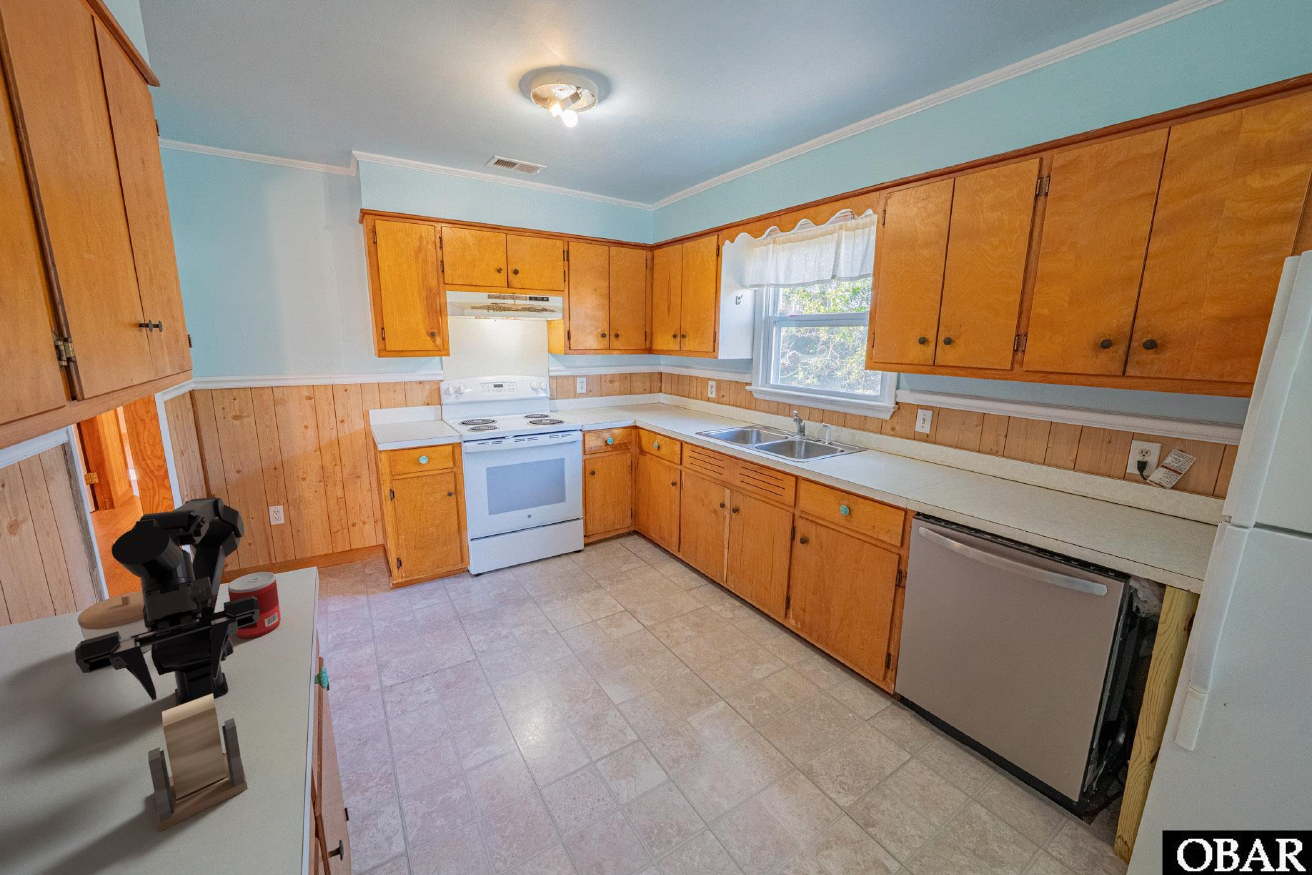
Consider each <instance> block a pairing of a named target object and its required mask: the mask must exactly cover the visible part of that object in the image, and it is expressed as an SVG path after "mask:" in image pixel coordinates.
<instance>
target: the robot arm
mask: <svg viewBox="0 0 1312 875" xmlns="http://www.w3.org/2000/svg"><path fill="white" fill-rule="evenodd" d="M244 536H245V524H244V521H243V518H242V517H241V514H240V512H239V511H238V510H236V509H234V508H233V507H230V506H229V505H226V504H225V503H224V501H223V498H222V497H217V496H212V497H202V498H192V499H190V500H186V501H185V502H184V504H182V505H180V506H179V507H177V508H175V509H173V510H172V511H170V510H169V511H161V512H153V513H152V512H151V513H144V514H143V515H142V516H141V517H140V518H139V520H137V521H135V524H134V525H133V527H132V528H131V529H130V530H128V531H126V532H124V533H123V534H121V535H120V536H119V537H118V538H116V541H115V542H114V543H113V544H112V547H111V555H112V557H113V559H115V561H117V562H118V564H120V565H122V567H124V568H125V570H127V571H129V572H130V573H131V574H132V575H133V576H134V577H135V576H136V577H137V578H140V579H139V580H140V585H141V586H140V588H141V590H142V594H143V602H144V608H143V616H144V623H145V627H146V628H147V631H148V632H145V633H141V634H137V635H134V636H130V637H126V638H123V639H122V638H121V636H120V634H119V632H118V631H117V632H113V633H110V634H106V635H102V636H99V637H95V638H91V639H87V640H85V639H84V640H80V642H79V643H78V644H77V645H76V646H75V649H74V654H75V655H74V658H75V663H76V665H77V666H78V667H79V669H80V670H81V672H82V673H83V674H87V673H88V674H90V673H93V672H96V671H99V670H103V669H107V668H110V667H113V670H115V671H118V670H122V669H126V670H127V671H128V672H129V673H131V675H132V676H134V677H135V678H136V679H137V681H138V682H139V683H140V684H141V686H142V688H143V689H144V690H145V692H146V693H147V694H148V697H149V698H150V699H151V700H152V702H153V701H157V700H158V699H157V689H156V687H155V683H154V682H153V679H152V676H151V673H150V670H149V667H148V665H147V661H146V658H145V656H144V653H142V651H141V648H142V647H145V646H149V645H152V648H151V649H150V650H151V651H150V654H151V655H150V656H151V661H152V662H153V665H154V667H155V669H156V672H157V674H158V675H159V676H163V675H165V674H170V673H174V678H175V682H176V683H175V684H176V688H175V689H174V695H175V707H177V706H179V705H182V704H185V703H188V702H190V701H193V700H196V699H199V698H201V697H204V696H207V695H210V694H212V693H213V697H214V698H216V697H217V698H218V697H219V696H221V695H224V694H227V693H228V692H229V685H228V682H227V678H226V675H225V672H223V671H222V666H221V665H222V663H221V662H224V661H227V657H229V656H230V655H233V654H234V652H235V650H234V644H233V640H232V638H231V637H232V635H236V633H237V628H239V627H243V626H246V625H249V624H253V623H255V622H257V621H259V612H260V608H259V604H258V600H257V598H256V597H254V596H252V595H251V596H247V597H243V598H240V599H236V600H232V601H230V600H229V601H225V602H223V610H220V611H217V612H215V610H216V606H217V602H218V596H219V592H220V586H221V581H222V577H223V571H224V567H225V562H226V558H227V557H228V556H230V555H231V554H232V553H233V552H235V551H236V550H238V548H239V545H240V542H241V538H243V537H244ZM184 546H189V547H190V550H191V553H192V555H193V558H192V556H191V553H190V552H189V551H188V550H185V549H182V548H181V547H184ZM192 559H193V560H192Z"/></svg>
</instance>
